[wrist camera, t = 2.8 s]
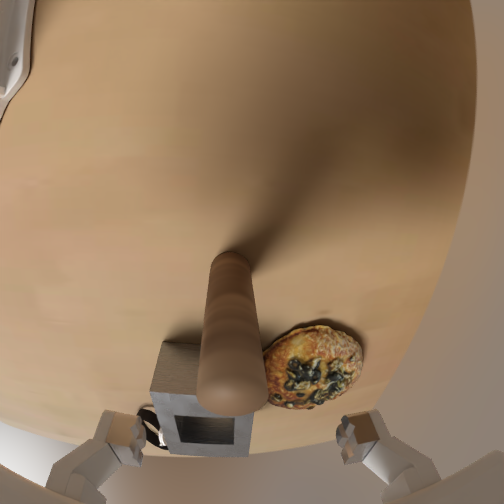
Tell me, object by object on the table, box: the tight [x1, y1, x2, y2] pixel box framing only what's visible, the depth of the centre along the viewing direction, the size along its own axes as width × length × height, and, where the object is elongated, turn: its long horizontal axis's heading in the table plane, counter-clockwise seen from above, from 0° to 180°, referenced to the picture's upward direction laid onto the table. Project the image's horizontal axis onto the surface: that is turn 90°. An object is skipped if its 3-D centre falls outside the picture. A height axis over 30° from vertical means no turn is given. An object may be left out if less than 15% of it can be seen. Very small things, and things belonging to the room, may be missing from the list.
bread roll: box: [263, 325, 363, 410], centre depth 25 cm, size 11×11×5 cm
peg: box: [196, 252, 269, 416], centre depth 16 cm, size 3×3×12 cm
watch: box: [136, 409, 169, 450], centre depth 28 cm, size 8×5×4 cm, turn 7°
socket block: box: [150, 342, 254, 457], centre depth 24 cm, size 11×8×6 cm
